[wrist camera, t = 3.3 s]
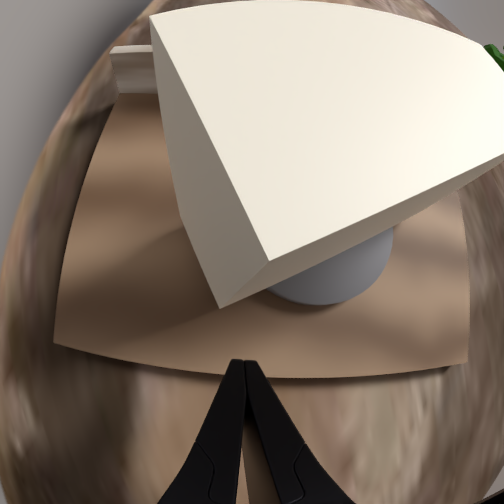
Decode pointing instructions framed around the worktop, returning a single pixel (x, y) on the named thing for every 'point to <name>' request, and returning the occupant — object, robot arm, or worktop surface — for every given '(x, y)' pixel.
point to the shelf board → (254, 306)
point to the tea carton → (315, 137)
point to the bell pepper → (495, 55)
